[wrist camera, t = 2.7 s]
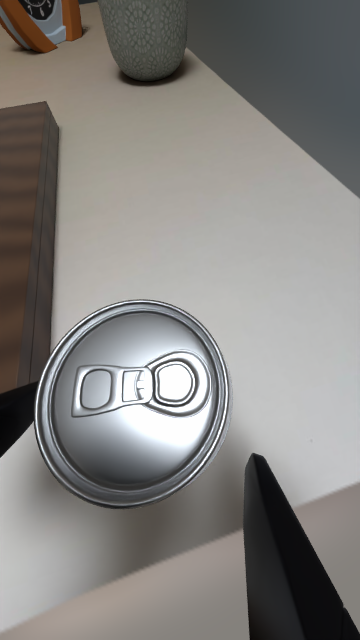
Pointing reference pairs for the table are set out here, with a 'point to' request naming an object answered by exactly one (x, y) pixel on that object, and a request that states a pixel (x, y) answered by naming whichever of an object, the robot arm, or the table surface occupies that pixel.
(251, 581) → the robot arm
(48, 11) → the alarm clock
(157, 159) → the table surface
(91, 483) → the can
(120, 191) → the table surface
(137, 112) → the table surface
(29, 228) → the shelf
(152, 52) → the planter
